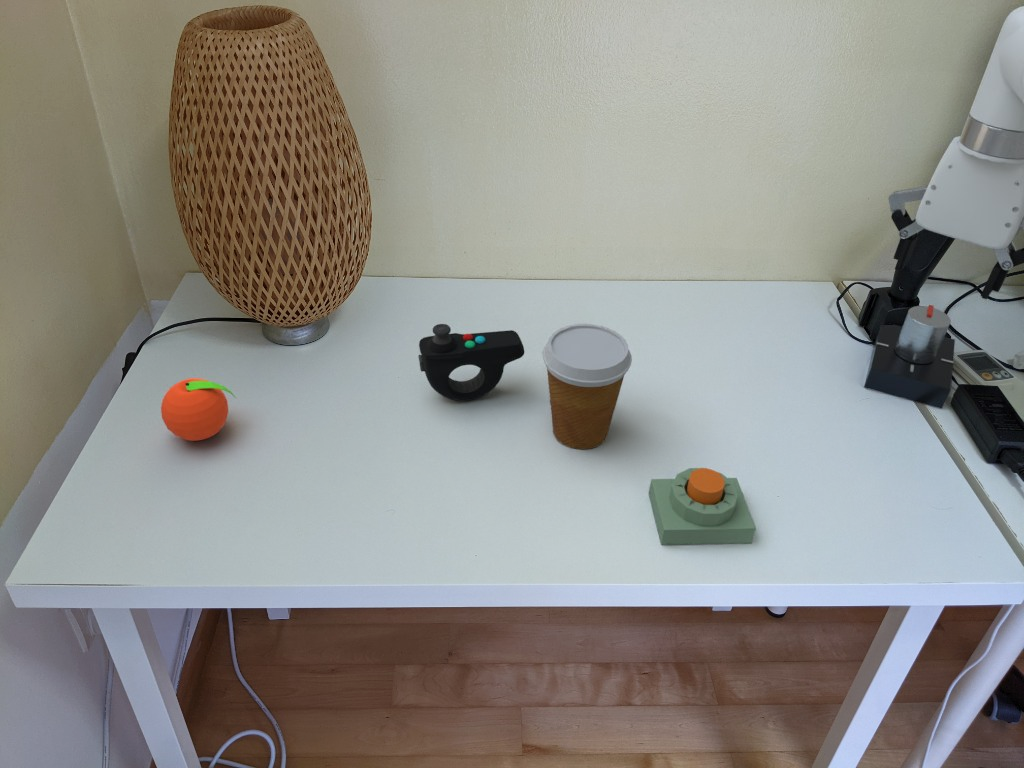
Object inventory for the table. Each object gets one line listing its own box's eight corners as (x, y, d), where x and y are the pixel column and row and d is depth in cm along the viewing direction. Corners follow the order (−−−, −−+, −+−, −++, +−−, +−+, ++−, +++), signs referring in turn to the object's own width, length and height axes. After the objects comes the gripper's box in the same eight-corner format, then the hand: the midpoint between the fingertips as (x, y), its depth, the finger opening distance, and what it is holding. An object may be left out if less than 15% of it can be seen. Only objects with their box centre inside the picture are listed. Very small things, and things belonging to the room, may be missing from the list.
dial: (933, 368, 95) (950, 328, 92) (892, 357, 97) (907, 318, 93) (936, 348, 98) (952, 309, 95) (895, 338, 100) (910, 300, 97)
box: (732, 492, 82) (740, 464, 79) (751, 543, 76) (760, 515, 74) (648, 493, 81) (653, 466, 79) (661, 545, 76) (666, 517, 73)
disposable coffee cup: (522, 438, 88) (525, 351, 81) (565, 395, 94) (572, 312, 87) (595, 471, 84) (605, 383, 77) (635, 425, 90) (648, 339, 83)
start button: (716, 480, 78) (720, 467, 77) (725, 505, 75) (728, 492, 74) (683, 480, 78) (686, 468, 77) (691, 505, 75) (693, 492, 74)
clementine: (245, 409, 91) (232, 360, 87) (242, 447, 86) (229, 397, 82) (173, 417, 90) (157, 368, 86) (166, 457, 84) (148, 407, 80)
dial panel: (941, 408, 94) (951, 388, 92) (863, 387, 97) (871, 367, 95) (946, 358, 102) (955, 338, 100) (874, 340, 105) (882, 320, 103)
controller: (419, 389, 95) (415, 320, 89) (518, 378, 97) (520, 310, 91) (423, 411, 92) (419, 341, 86) (525, 399, 94) (528, 330, 88)
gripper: (1102, 148, 79) (1030, 292, 89) (927, 109, 88) (880, 245, 98) (1089, 170, 74) (1014, 319, 85) (905, 126, 83) (858, 267, 93)
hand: (942, 279), depth 91 cm, fingers open, 9 cm apart
